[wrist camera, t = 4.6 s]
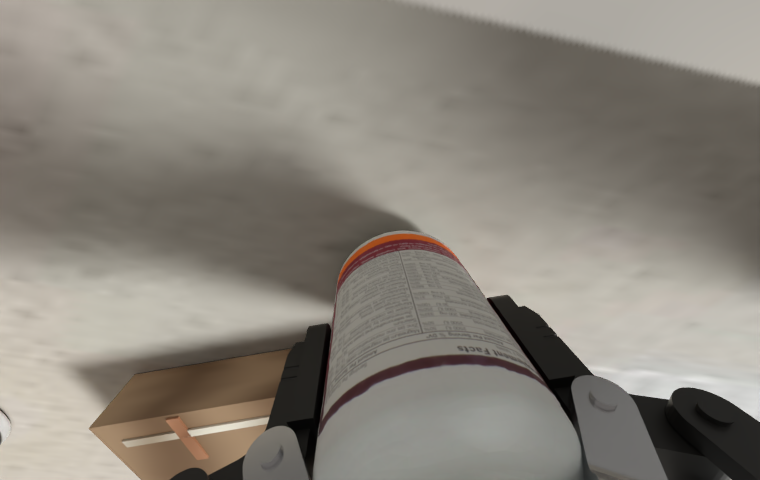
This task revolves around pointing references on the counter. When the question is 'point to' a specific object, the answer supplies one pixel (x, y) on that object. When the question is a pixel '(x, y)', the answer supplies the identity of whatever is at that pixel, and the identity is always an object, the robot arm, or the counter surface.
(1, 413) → the supplement bottle
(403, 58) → the counter surface
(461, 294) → the pill bottle
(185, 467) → the brown banded box
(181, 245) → the counter surface
